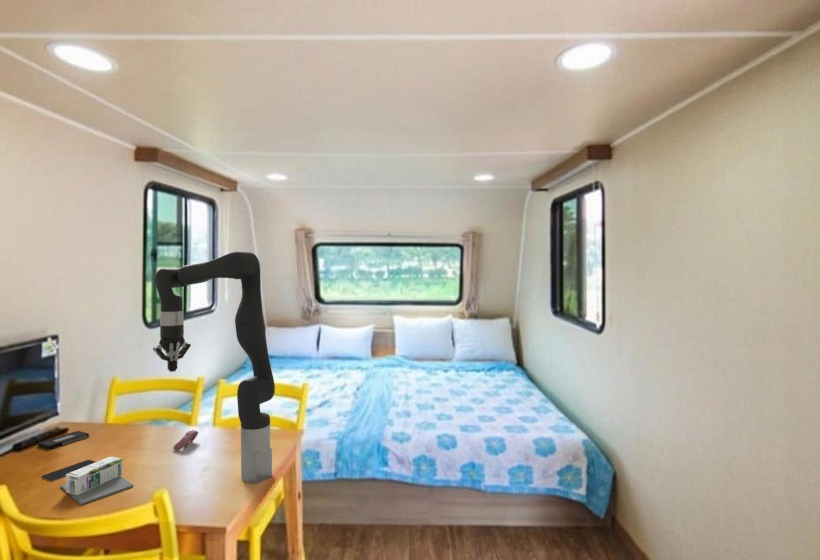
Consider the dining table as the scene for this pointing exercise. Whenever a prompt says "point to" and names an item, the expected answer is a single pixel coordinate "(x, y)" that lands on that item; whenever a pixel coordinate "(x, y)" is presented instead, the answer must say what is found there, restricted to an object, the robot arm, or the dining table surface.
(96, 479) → the syrup box
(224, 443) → the dining table surface
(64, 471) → the smartphone
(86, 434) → the vhs tape
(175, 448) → the purple-brown oblong lump
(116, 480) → the mat
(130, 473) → the dining table surface
